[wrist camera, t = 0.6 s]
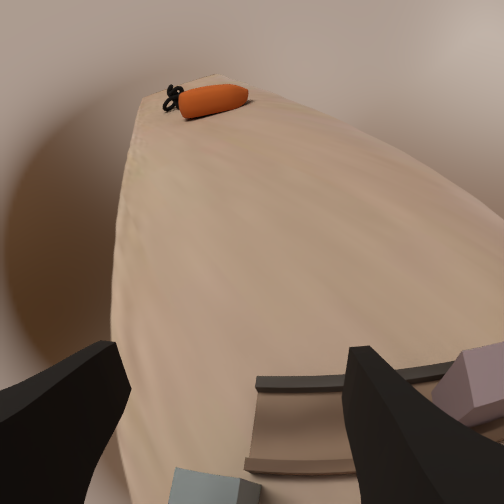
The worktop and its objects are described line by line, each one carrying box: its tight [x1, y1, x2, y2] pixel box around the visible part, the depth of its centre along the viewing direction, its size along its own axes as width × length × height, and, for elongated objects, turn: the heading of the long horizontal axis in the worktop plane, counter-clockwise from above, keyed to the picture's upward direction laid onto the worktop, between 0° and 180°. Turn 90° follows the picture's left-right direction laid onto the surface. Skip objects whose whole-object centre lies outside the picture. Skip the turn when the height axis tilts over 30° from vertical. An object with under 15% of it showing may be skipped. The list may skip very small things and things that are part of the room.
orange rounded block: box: [179, 84, 248, 118], centre depth 95 cm, size 12×11×25 cm
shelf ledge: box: [244, 361, 504, 475], centre depth 18 cm, size 8×22×2 cm, turn 83°
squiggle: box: [163, 85, 184, 111], centre depth 115 cm, size 11×10×15 cm
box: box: [431, 342, 504, 428], centre depth 15 cm, size 4×7×7 cm, turn 83°
